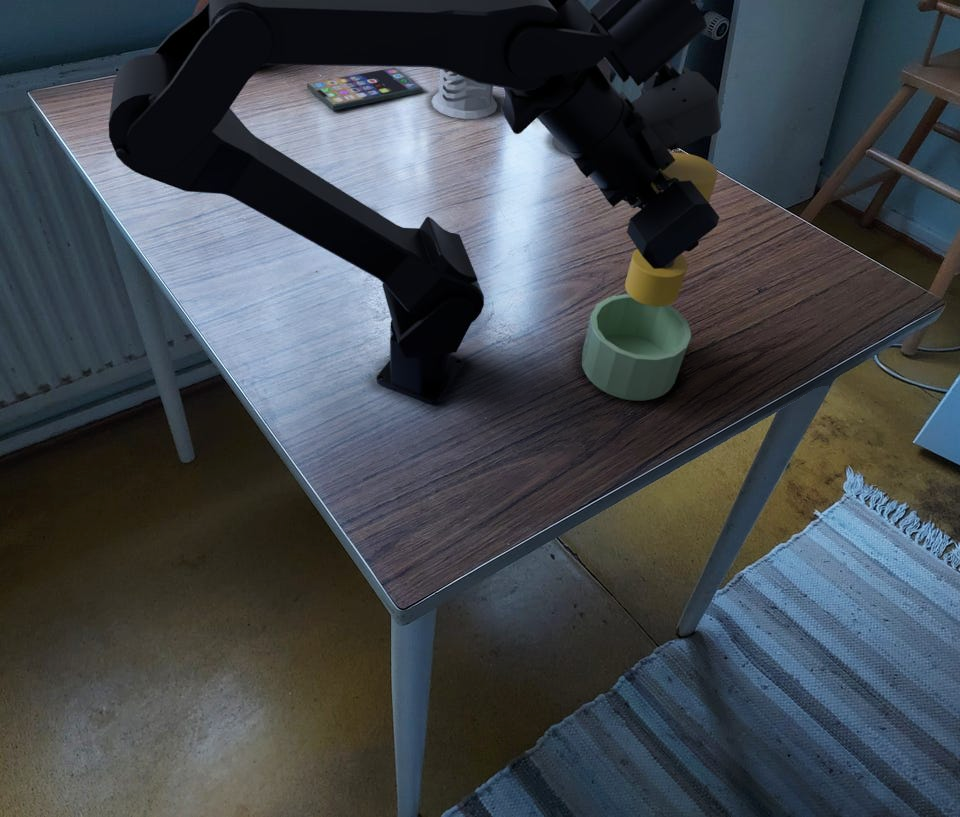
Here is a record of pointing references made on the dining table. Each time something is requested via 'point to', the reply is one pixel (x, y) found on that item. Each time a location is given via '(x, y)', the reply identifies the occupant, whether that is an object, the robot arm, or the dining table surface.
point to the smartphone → (364, 88)
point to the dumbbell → (667, 281)
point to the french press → (463, 97)
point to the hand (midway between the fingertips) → (681, 231)
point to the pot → (634, 348)
